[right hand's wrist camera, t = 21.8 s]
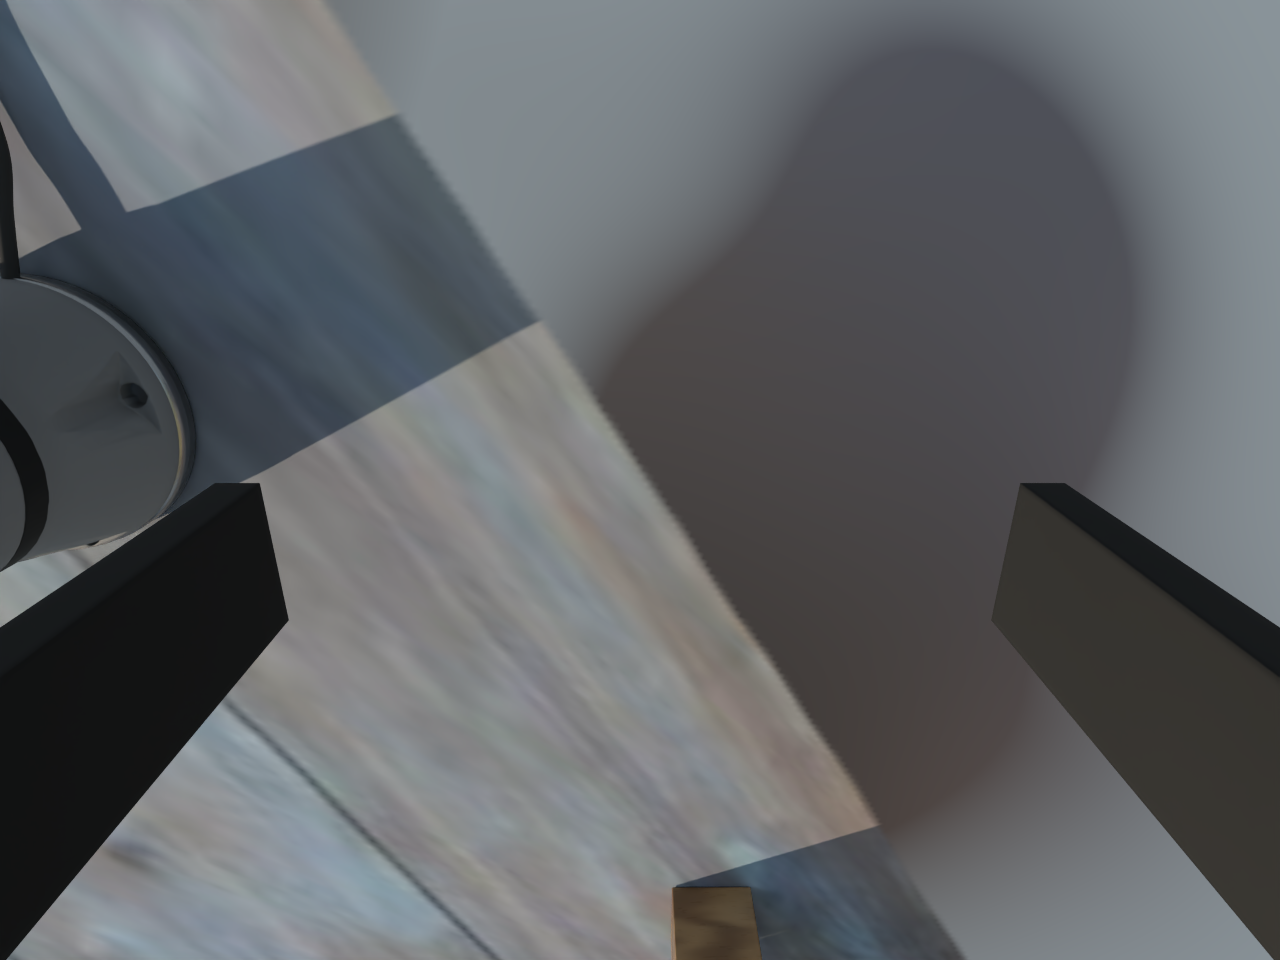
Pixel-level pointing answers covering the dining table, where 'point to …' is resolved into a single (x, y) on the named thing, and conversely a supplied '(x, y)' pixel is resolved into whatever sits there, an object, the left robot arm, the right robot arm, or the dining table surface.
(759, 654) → the dining table surface
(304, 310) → the dining table surface
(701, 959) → the block
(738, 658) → the dining table surface
